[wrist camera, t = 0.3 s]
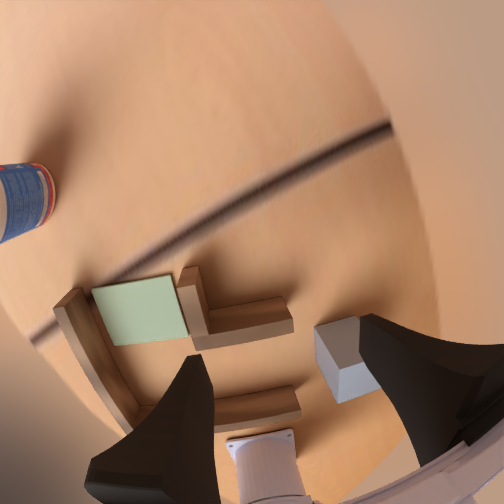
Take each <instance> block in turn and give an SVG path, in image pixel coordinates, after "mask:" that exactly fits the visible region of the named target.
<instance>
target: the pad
mask: <svg viewBox="0 0 504 504" xmlns="http://www.w3.org/2000/svg"><path fill="white" fill-rule="evenodd" d="M91 291H92V294H93V297H94V299H95V302H96V304H97V307H98V309H99V312H100V314H101V317H102V319H103V322H104V324H105V326H106V329H107V331H108V333H109V335H110V338H111V340H112V342H113V344H114V346H120V345H129V344H138V343H147V342H155V341H162V340H170V339H177V338H184V337H189V333H188V330H187V327H186V324H185V321H184V318H183V315H182V311H181V308H180V305H179V302H178V298H177V295H176V291H175V288H174V284H173V281H172V277H171V274H169V275H164V276H158V277H153V278H147V279H142V280H137V281H131V282H126V283H120V284H115V285H109V286H104V287H98V288H93V289H92V290H91Z"/></svg>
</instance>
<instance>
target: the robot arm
mask: <svg viewBox="0 0 504 504" xmlns="http://www.w3.org/2000/svg"><path fill="white" fill-rule="evenodd" d="M359 353H360V355H361V357H362V359H363V361H364V363H365V365H366V367H367V368H368V370H369V371H370V373H371V374H372V375H373V377H374V378H375V380H376V381H377V382H378V384H379V385H380V386H381V388H382V389H383V391H384V392H385V393H386V395H387V396H388V397H389V399H390V400H391V402H392V404H393V405H394V407H395V409H396V411H397V412H398V414H399V416H400V418H401V420H402V422H403V424H404V426H405V429H406V431H407V433H408V435H409V437H410V440H411V442H412V445H413V447H414V449H415V452H416V455H417V458H418V461H419V464H420V467H421V468H419V469H418V470H416V471H414V472H412V473H410V474H408V475H406V476H404V477H402V478H401V479H399V480H396V481H394V482H392V483H390V484H388V485H386V486H384V487H381V488H379V489H377V490H374V491H372V492H370V493H367V494H365V495H362V496H360V497H357V498H354V499H351V500H349V501H346V502H343V503H340V504H477V503H476V501H475V500H474V498H473V497H472V496H473V495H474V494H475V493H477V492H478V491H479V490H480V489H481V488H483V487H484V486H485V485H486V484H487V483H489V482H490V481H491V480H492V479H493V478H494V477H495V476H496V475H497V474H498V473H500V472H501V471H502V470H503V469H504V344H495V345H473V344H463V343H456V342H450V341H445V340H441V339H437V338H433V337H430V336H427V335H424V334H421V333H418V332H415V331H413V330H410V329H407V328H405V327H403V326H400V325H398V324H396V323H393V322H391V321H389V320H387V319H384V318H382V317H380V316H377V315H375V314H372V313H371V314H368V315H365V316H362V317H360V333H359ZM214 413H215V404H214V394H213V386H212V383H211V381H210V378H209V375H208V372H207V370H206V367H205V364H204V361H203V358H202V356H201V354H198V355H191V356H187V357H186V359H185V361H184V362H183V364H182V366H181V368H180V370H179V371H178V373H177V375H176V377H175V378H174V380H173V381H172V383H171V385H170V386H169V388H168V390H167V391H166V392H165V394H164V395H163V397H162V398H161V400H160V401H159V402H158V404H157V405H156V406H155V408H154V409H153V410H152V411H151V412H150V414H149V415H148V416H147V417H146V418H145V419H144V420H143V421H142V422H141V423H140V424H139V425H138V426H137V427H136V428H135V429H134V430H133V431H131V432H130V433H129V434H128V435H127V436H125V437H124V438H123V439H122V440H120V441H119V442H118V443H116V444H115V445H113V446H112V447H111V448H109V449H107V450H106V451H104V452H102V453H100V454H99V455H97V456H95V457H94V458H92V459H91V462H90V465H89V468H88V472H87V475H86V479H85V483H84V487H85V489H86V490H87V492H88V493H89V494H91V495H92V496H93V497H94V498H96V499H97V500H99V501H100V502H101V503H103V504H221V500H220V495H219V489H218V482H217V475H216V468H215V459H214ZM225 443H226V446H227V448H228V450H229V452H230V454H231V456H232V458H233V460H234V462H235V464H236V472H237V480H238V488H239V496H240V504H323V503H320V502H319V501H317V500H315V501H312V499H311V496H310V495H308V496H306V493H305V489H304V486H303V483H302V479H301V476H300V473H299V469H298V466H297V461H296V451H295V442H294V433H293V430H292V429H286V430H281V431H277V432H272V433H267V434H262V435H257V436H251V437H245V438H238V439H231V440H227V441H226V442H225Z"/></svg>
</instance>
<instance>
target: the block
mask: <svg viewBox="0 0 504 504" xmlns="http://www.w3.org/2000/svg"><path fill="white" fill-rule="evenodd" d="M359 333H360V321H359V319H358V318H357V317H356V316H352V317H348V318H345V319H341V320H338V321H334V322H330V323H327V324H323V325H319V326H315V327H314V336H315V358H316V362H317V364H318V366H319V368H320V370H321V372H322V374H323V376H324V378H325V380H326V382H327V384H328V386H329V388H330V390H331V392H332V394H333V396H334V398H335V400H336V402H337V404H339V403H342V402H345V401H348V400H351V399H354V398H357V397H360V396H362V395H365V394H368V393H370V392H373V391H376V390H378V389H381V386H380V385H379V384H378V382H377V381H376V380H375V378H374V377H373V375H372V374H371V373H370V371H369V370H368V368H367V367H366V365H365V363H364V361H363V359H362V357H361V355H360V353H359Z"/></svg>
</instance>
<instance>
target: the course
mask: <svg viewBox="0 0 504 504" xmlns="http://www.w3.org/2000/svg"><path fill="white" fill-rule="evenodd" d="M177 292H178V295H179V299H180V302H181V305H182V309H183V312H184V315H185V318H186V322H187V325H188V328H189V331H190V334H191V337H192V340H193V343H194V346H195V349H196V351H201V350H207V349H213V348H219V347H225V346H231V345H236V344H242V343H247V342H252V341H257V340H262V339H267V338H271V337H276V336H281V335H285V334H289V333H294V326H293V318H292V316H291V314H290V312H289V310H288V308H287V306H286V304H285V302H284V300H283V298H282V296H280V297H275V298H271V299H266V300H261V301H256V302H251V303H246V304H241V305H236V306H230V307H225V308H219V309H214V310H209V307H208V303H207V299H206V296H205V292H204V288H203V284H202V279H201V275H200V271H199V267H198V266H194V267H189V268H184V269H182V272H181V275H180V278H179V282H178V285H177ZM53 311H54V313H55V315H56V318H57V320H58V322H59V324H60V326H61V329H62V331H63V333H64V335H65V337H66V339H67V341H68V343H69V345H70V347H71V349H72V351H73V353H74V354H75V356H76V358H77V360H78V362H79V364H80V365H81V367H82V369H83V371H84V372H85V374H86V376H87V377H88V379H89V381H90V382H91V384H92V386H93V387H94V389H95V390H96V392H97V394H98V395H99V397H100V398H101V400H102V401H103V403H104V404H105V406H106V407H107V409H108V410H109V411H110V413H111V414H112V416H113V417H114V418H115V420H116V421H117V423H118V424H119V425H120V427H121V428H122V429H123V431H124V432H125V433H126V434H127V435H128V434H129V433H130V432H131V431H133V430H134V429H135V428H136V427H137V426H138V425H139V424H140V423H141V422H142V421H143V420H144V419H145V418H146V417H147V416H148V415H149V414H150V412H151V411H152V410H153V409H154V408H155V406H156V405H152V406H139V405H138V403H137V401H136V400H135V398H134V396H133V395H132V393H131V391H130V389H129V388H128V386H127V384H126V382H125V381H124V379H123V377H122V375H121V373H120V371H119V370H118V368H117V366H116V364H115V362H114V360H113V358H112V356H111V354H110V352H109V350H108V348H107V346H106V344H105V341H104V339H103V337H102V335H101V333H100V331H99V328H98V326H97V324H96V321H95V319H94V317H93V314H92V312H91V309H90V307H89V304H88V302H87V299H86V297H85V294H84V291H83V289H82V288H77V289H71V290H70V291H69V292H68V293H67V294H66V295H65V296H64V297H63V298H62V299H61V300H60V301H59V302H58V303H57V304H56V305H55V306H54V308H53ZM214 404H215V413H214V433H220V432H228V431H235V430H242V429H248V428H253V427H259V426H264V425H269V424H274V423H279V422H283V421H287V420H292V419H296V418H300V417H301V408H300V405H299V403H298V400H297V397H296V394H295V391H294V389H293V386H292V385H289V386H285V387H281V388H276V389H272V390H267V391H262V392H257V393H252V394H246V395H240V396H235V397H228V398H222V399H215V400H214Z"/></svg>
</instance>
